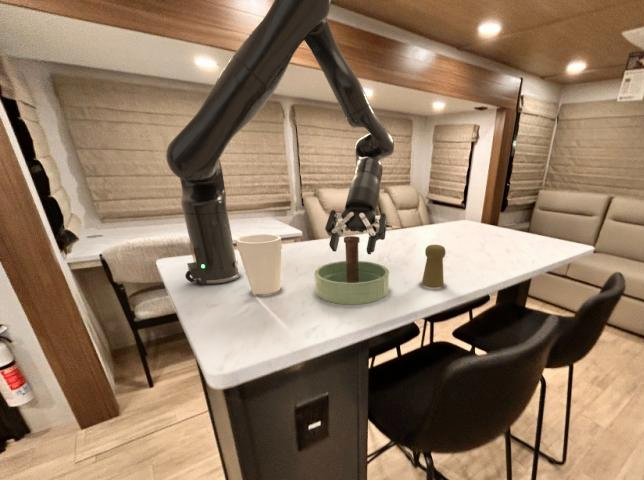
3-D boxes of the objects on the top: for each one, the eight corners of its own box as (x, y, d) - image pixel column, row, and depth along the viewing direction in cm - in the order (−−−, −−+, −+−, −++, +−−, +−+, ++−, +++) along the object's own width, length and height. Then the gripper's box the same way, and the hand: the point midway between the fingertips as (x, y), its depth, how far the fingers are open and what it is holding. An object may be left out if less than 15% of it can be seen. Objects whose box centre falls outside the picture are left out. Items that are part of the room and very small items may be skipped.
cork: (442, 290, 80) (447, 249, 76) (419, 288, 81) (422, 247, 77) (444, 283, 85) (448, 243, 81) (422, 280, 86) (425, 241, 82)
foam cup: (295, 288, 78) (289, 236, 73) (269, 301, 70) (261, 244, 64) (264, 282, 80) (257, 232, 75) (236, 295, 72) (226, 240, 67)
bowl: (339, 313, 65) (338, 289, 63) (304, 288, 78) (302, 267, 75) (402, 295, 76) (403, 274, 74) (363, 276, 88) (363, 257, 86)
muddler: (349, 294, 74) (348, 240, 69) (340, 289, 77) (338, 237, 72) (365, 290, 76) (364, 238, 71) (355, 285, 79) (354, 235, 74)
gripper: (332, 183, 75) (316, 240, 69) (389, 186, 73) (378, 244, 67) (340, 204, 82) (326, 257, 76) (393, 207, 80) (383, 261, 74)
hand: (350, 251), depth 72 cm, fingers open, 8 cm apart
